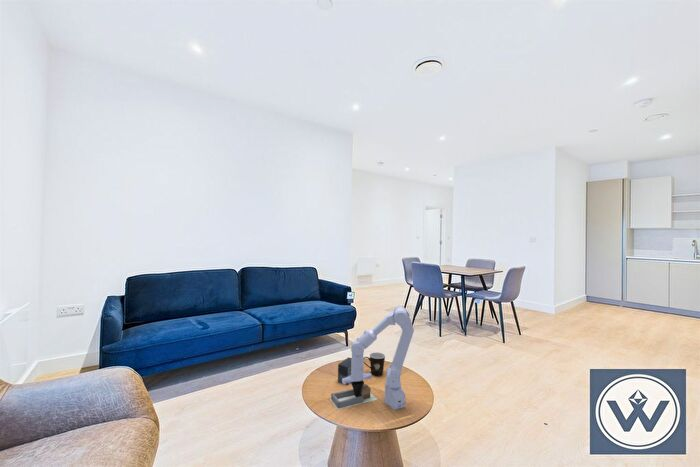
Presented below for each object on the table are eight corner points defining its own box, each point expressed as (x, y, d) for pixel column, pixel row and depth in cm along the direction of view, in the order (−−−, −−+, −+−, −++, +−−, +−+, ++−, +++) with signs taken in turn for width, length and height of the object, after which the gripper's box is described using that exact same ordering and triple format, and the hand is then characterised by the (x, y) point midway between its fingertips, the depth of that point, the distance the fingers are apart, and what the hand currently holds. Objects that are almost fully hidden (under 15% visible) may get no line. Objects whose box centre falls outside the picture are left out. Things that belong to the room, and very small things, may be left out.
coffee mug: (387, 372, 168) (387, 354, 168) (380, 378, 161) (380, 360, 161) (369, 367, 174) (369, 350, 174) (361, 372, 167) (362, 355, 167)
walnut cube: (370, 397, 140) (370, 388, 140) (361, 400, 138) (362, 390, 138) (365, 393, 144) (365, 383, 144) (357, 395, 142) (357, 385, 142)
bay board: (377, 401, 138) (377, 394, 138) (337, 411, 130) (337, 403, 130) (367, 392, 147) (367, 384, 147) (329, 400, 138) (329, 393, 138)
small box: (347, 375, 163) (348, 356, 163) (358, 379, 160) (358, 359, 160) (337, 383, 154) (337, 363, 154) (347, 387, 151) (348, 366, 151)
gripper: (366, 361, 146) (366, 388, 146) (339, 366, 139) (338, 395, 139) (374, 367, 139) (373, 396, 139) (346, 372, 133) (345, 403, 133)
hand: (356, 396), depth 139 cm, fingers closed
